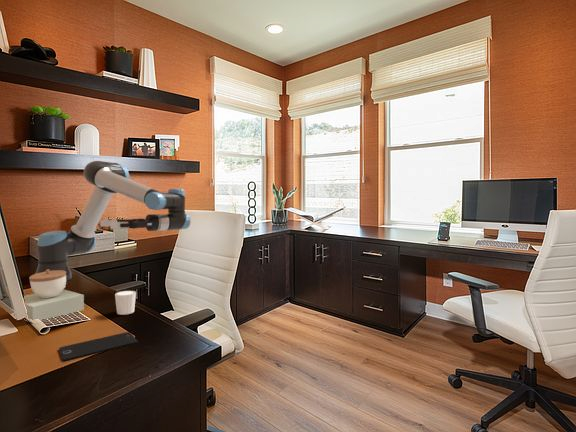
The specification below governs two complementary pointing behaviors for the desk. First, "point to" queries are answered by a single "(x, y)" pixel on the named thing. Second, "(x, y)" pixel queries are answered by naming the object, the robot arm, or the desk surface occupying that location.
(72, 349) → the cell phone
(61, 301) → the sage box
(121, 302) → the white tapered cup
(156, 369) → the desk surface
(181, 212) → the robot arm
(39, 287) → the lidded jar
